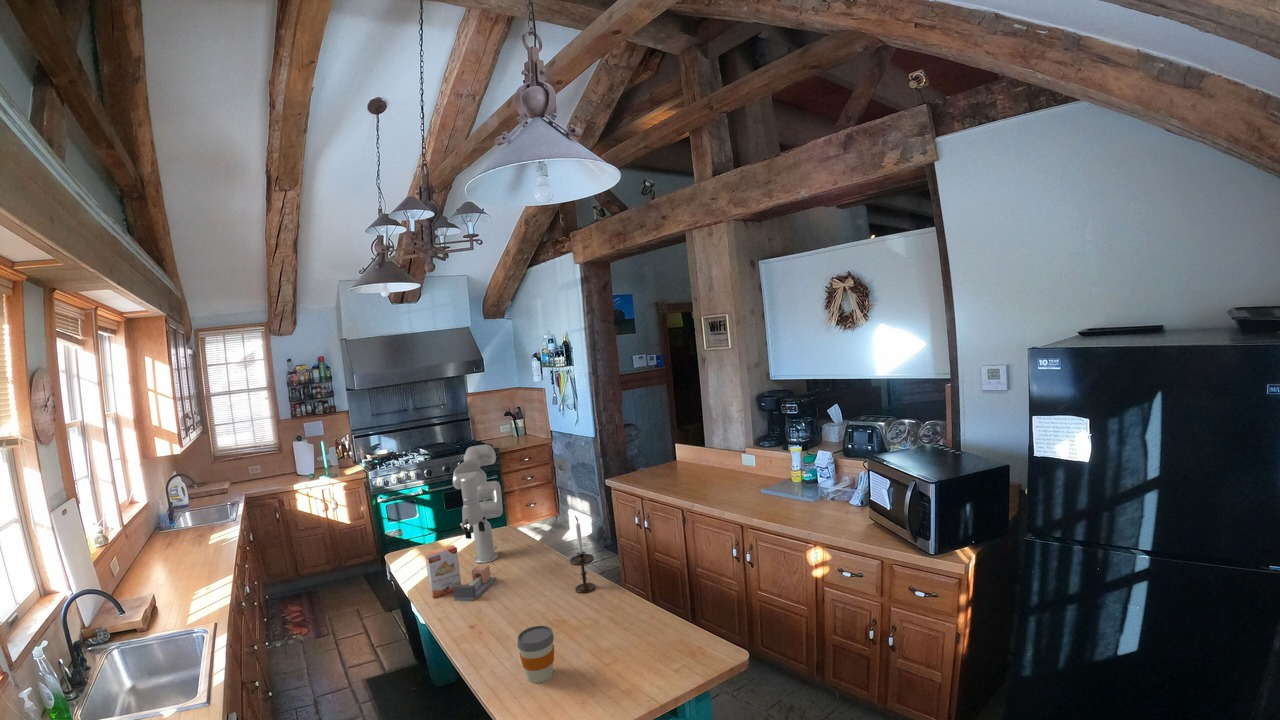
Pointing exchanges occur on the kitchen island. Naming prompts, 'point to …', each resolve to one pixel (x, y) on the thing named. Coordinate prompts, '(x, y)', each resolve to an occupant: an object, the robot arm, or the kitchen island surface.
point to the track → (479, 590)
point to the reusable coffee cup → (537, 653)
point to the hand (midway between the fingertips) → (475, 534)
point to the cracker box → (442, 570)
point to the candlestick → (582, 564)
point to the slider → (482, 570)
